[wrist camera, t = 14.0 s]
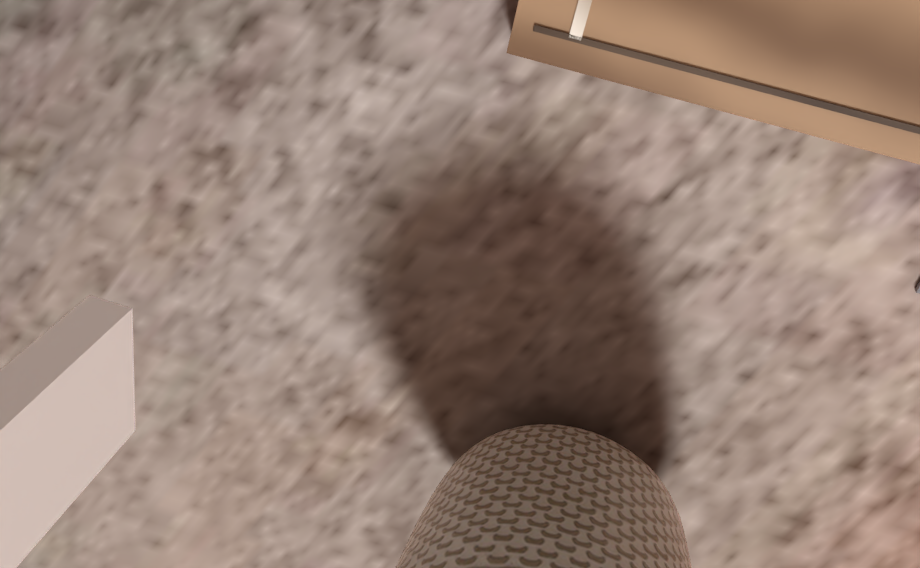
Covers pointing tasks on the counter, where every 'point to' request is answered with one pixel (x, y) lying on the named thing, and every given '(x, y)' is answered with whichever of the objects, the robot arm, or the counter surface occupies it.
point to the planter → (548, 507)
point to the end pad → (918, 288)
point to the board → (750, 59)
